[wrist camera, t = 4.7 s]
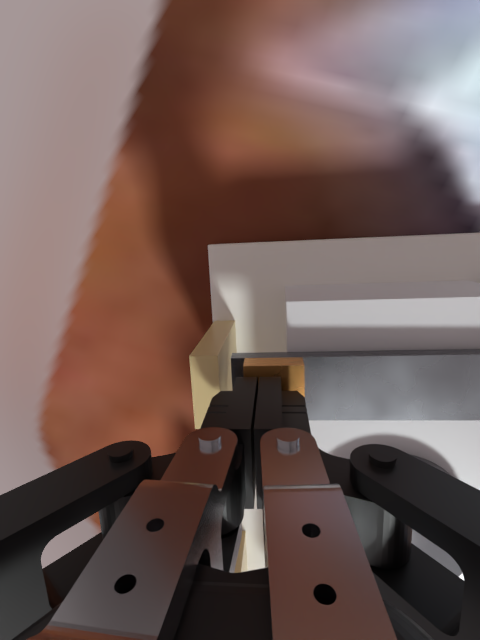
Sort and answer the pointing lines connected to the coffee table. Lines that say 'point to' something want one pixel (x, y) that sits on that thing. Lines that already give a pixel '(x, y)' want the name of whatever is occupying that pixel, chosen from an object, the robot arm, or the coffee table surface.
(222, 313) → the base
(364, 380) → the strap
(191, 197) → the coffee table surface
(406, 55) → the coffee table surface
